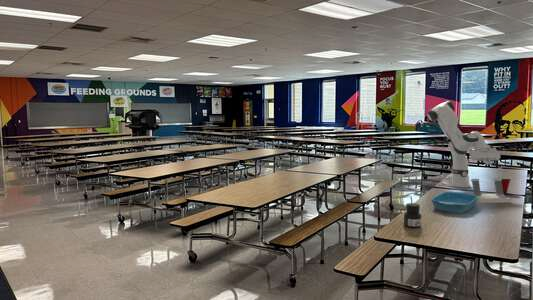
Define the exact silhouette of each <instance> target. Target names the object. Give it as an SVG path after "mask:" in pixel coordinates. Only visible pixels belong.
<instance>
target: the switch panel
mask: <svg viewBox="0 0 533 300" xmlns="http://www.w3.org/2000/svg"><path fill="white" fill-rule="evenodd" d="M470 194H471V195H474V193H470ZM511 202H512V198H511V197H509V196H505V195H503V196H497V195H496V193H481V196H478V199H477V201H476V204H477V203H478V204H494V203H495V204H498V203H499V204H500V203H501V204H502V203H504V204H505V203H508V204H509V203H511Z"/></svg>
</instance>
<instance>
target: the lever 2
mask: <svg viewBox="0 0 533 300" xmlns="http://www.w3.org/2000/svg"><path fill="white" fill-rule="evenodd" d="M501 181H502V178H495V177H494V178H493V182H494V188H495V194H496V195H497V196H505V193H503V188H502V182H501Z"/></svg>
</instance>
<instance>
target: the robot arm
mask: <svg viewBox="0 0 533 300" xmlns="http://www.w3.org/2000/svg"><path fill="white" fill-rule="evenodd" d="M455 110H456V107H455V104H454V103H453V102H452V101H450V100H447V101H445V102H442V103H440V104H438V105H436V106H435V107H433V108H432V109H429V110H427V112H426V115H427V118H428V120H429V121H430V122H437V123H438V125H439V128H440V129H441V131H442V132H443V134H444V135H445V137H446V138H447V139H448V140H449V141H450V142H449V143H448V144H447V145H448V150H449V151H450V153H451V156H452V168H451V170H450V171H451V172H450V173H449V174H448V175H447V176H446V177H445V181H442V184H443V185H446V186H447V187H451V188H469V187H470V186H471V184H470V176H469V159H468V158H467V155H466V154H469V157H470V159H471V161H472V162H475V161H477V162H479V161H480V162H481V161H482V162H483V163H484V164H485V165H486V166H489V165H492V161H499V160H500V159H501V154H500V152H499V150H497V148H496V146H493V145H489V144H487V143H486V141H485V140H486V139H485V138H484V136H483V135H482V133H481V132H480V131H478V130H475V131H474V130H473V131H471V132H469V133H468V132H467V133H463V132H462V131H461V130H460V128H459V127H458V125H459V117H458V115H457V114H456V112H455Z"/></svg>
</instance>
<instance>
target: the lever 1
mask: <svg viewBox="0 0 533 300" xmlns="http://www.w3.org/2000/svg"><path fill="white" fill-rule="evenodd" d="M470 182H471V183H472V189H473V190H472V191H473V194H474V195H475V196H481V194H482V193H481V186H480V178H471V179H470Z"/></svg>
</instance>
